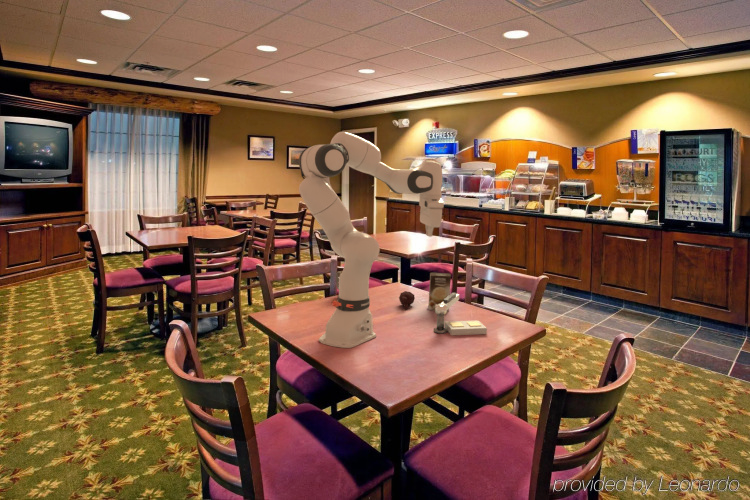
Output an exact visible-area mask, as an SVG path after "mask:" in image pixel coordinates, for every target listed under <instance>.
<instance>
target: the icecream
mask: <svg viewBox="0 0 750 500" xmlns="http://www.w3.org/2000/svg"><path fill="white" fill-rule="evenodd" d="M398 299H399V303H400V304H401V305H403V306H404V307H403V308H404V310H408V308H409V307H410V306H411V305H413V303H415V299H416V298H415V294H414V293H412V292H411V291H406V290H404V291H403V292H401V293H400V294H399V297H398Z"/></svg>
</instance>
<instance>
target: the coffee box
mask: <svg viewBox="0 0 750 500" xmlns="http://www.w3.org/2000/svg"><path fill="white" fill-rule="evenodd" d="M451 279H452V274H451V273H447V272H446V273H443V272H430V273H429V287H428V288H429V289H428V290H429V292H428V306H427V307H428V311H435V305H436V304H441V303H442V302H443V300H444V299H445V298H446V297H447V296H449V295H450V294H451V283H452V282H451V281H452V280H451ZM447 312H450V308H449V309H448V310H447Z"/></svg>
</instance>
